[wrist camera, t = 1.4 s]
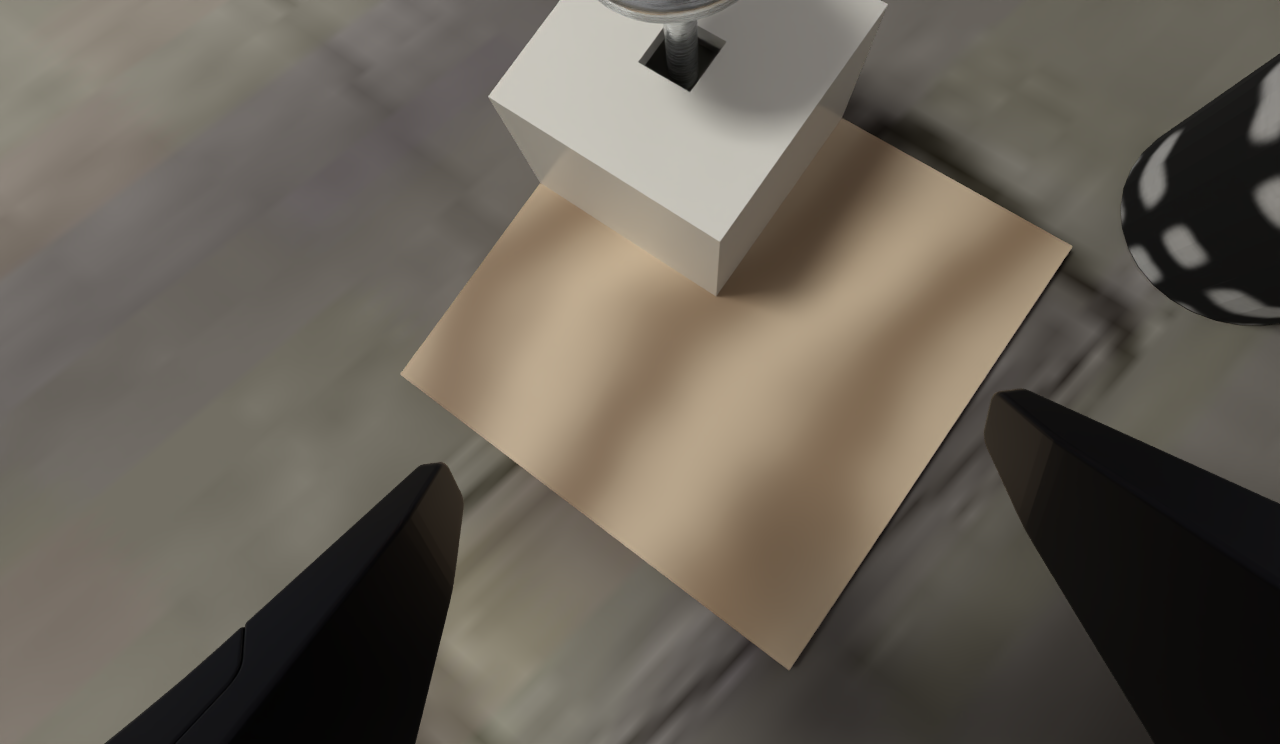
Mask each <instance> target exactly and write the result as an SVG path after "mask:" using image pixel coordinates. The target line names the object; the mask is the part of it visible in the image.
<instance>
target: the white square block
mask: <svg viewBox="0 0 1280 744" xmlns="http://www.w3.org/2000/svg"><path fill="white" fill-rule="evenodd" d="M887 6H888V4H886V3H884V2H882V1H880V0H739V1H737V2H736V3H734V4H733V5H731V6H729V7H727V8H726V9H724V10H722V11H720V12H717V13H715V14H713V15H710V16H708V17H704V18H701V19H698V20H697V22H698V79H697V81H696V82H695V83H694V84H693V85H692V86H690V87H688V88H684V89H683V88H682V87H680V86H678V85H677V84H675V83H673V82H671V81H670V80H669V77H668V67H667V57H666V47H665V37H664V27H663V24H659V23H648V22H643V21H638V20H634V19H631V18H628V17H625V16H622V15H620V14H618V13H616V12H614V11H612V10H610V9H609V8H607V7H606V6H604V5H603V4H601V3H600V2H599V1H598V0H560V1H559V2H558V4H557V5H556V6H555V8H554V9H553V10H552V12H551V13H550V14H549V16H548V17H547V19H546V20H545V21H544V23H543V24H542V25H541V27H540V28H539V29H538V31H537V32H536V33H535V35H534V36H533V37H532V39H531V40H530V41H529V43H528V44H527V45H526V47H525V48H524V49H523V51H522V52H521V53H520V55H519V56H518V57H517V59H516V60H515V61H514V63H513V64H512V65H511V67H510V68H509V69H508V71H507V72H506V73H505V75H504V76H503V77H502V79H501V80H500V81H499V83H498V84H497V86H496V87H495V88H494V90H493V91H492V92H491V94H490V95H489V96H488V97H489V99H490V101H491V102H492V104H493V106H494V107H495V109H496V110H497V112H498V114H499V115H500V117H501V119H502V120H503V122H504V124H505V125H506V127H507V129H508V130H509V132H510V134H511V135H512V137H513V138H514V140H515V142H516V143H517V145H518V147H519V148H520V150H521V152H522V153H523V155H524V157H525V158H526V160H527V162H528V163H529V165H530V167H531V168H532V170H533V171H534V173H535V175H536V176H537V178H538V180H539V181H540V183H541V184H543V185H544V186H546V187H548V188H549V189H551V190H552V191H554V192H555V193H557V194H558V195H560V196H561V197H563V198H565V199H566V200H568V201H569V202H571V203H572V204H574V205H575V206H577V207H578V208H580V209H582V210H583V211H585V212H586V213H588V214H589V215H591V216H592V217H594V218H595V219H597V220H599V221H600V222H602V223H603V224H605V225H606V226H608V227H609V228H611V229H612V230H614V231H616V232H617V233H619V234H620V235H622V236H623V237H625V238H626V239H628V240H629V241H631V242H633V243H634V244H636V245H637V246H639V247H640V248H642V249H643V250H645V251H646V252H648V253H650V254H651V255H653V256H654V257H656V258H657V259H659V260H660V261H662V262H663V263H665V264H667V265H668V266H670V267H671V268H673V269H674V270H676V271H677V272H679V273H680V274H682V275H684V276H685V277H687V278H688V279H690V280H691V281H693V282H694V283H696V284H697V285H699V286H701V287H702V288H704V289H705V290H707V291H708V292H710V293H711V294H713V295H714V296H717V295H718V293H719V292H720V290H721V289H722V288H723V286H724V285H725V283H726V282H727V281H728V279H729V278H730V276H731V275H732V273H733V272H734V271H735V269H736V268H737V266H738V265H739V263H740V262H741V261H742V259H743V258H744V256H745V255H746V254H747V252H748V251H749V249H750V248H751V246H752V245H753V244H754V242H755V241H756V239H757V238H758V237H759V235H760V234H761V232H762V231H763V229H764V228H765V227H766V225H767V224H768V222H769V221H770V219H771V218H772V217H773V215H774V214H775V212H776V211H777V210H778V208H779V207H780V205H781V204H782V202H783V201H784V200H785V198H786V197H787V195H788V194H789V192H790V191H791V190H792V188H793V187H794V185H795V184H796V183H797V181H798V180H799V178H800V177H801V175H802V174H803V173H804V171H805V170H806V168H807V167H808V166H809V164H810V163H811V161H812V160H813V158H814V157H815V156H816V154H817V153H818V151H819V150H820V148H821V147H822V146H823V144H824V143H825V141H826V140H827V139H828V137H829V136H830V134H831V133H832V131H833V130H834V129H835V127H836V126H837V124H838V123H839V122H840V120H841V119H842V117H843V114H844V112H845V109H846V107H847V104H848V102H849V99H850V97H851V95H852V92H853V90H854V87H855V85H856V82H857V80H858V77H859V75H860V72H861V70H862V67H863V65H864V62H865V60H866V58H867V55H868V53H869V50H870V48H871V45H872V43H873V40H874V38H875V35H876V33H877V30H878V28H879V25H880V23H881V21H882V18H883V16H884V13H885V11H886V8H887Z"/></svg>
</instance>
